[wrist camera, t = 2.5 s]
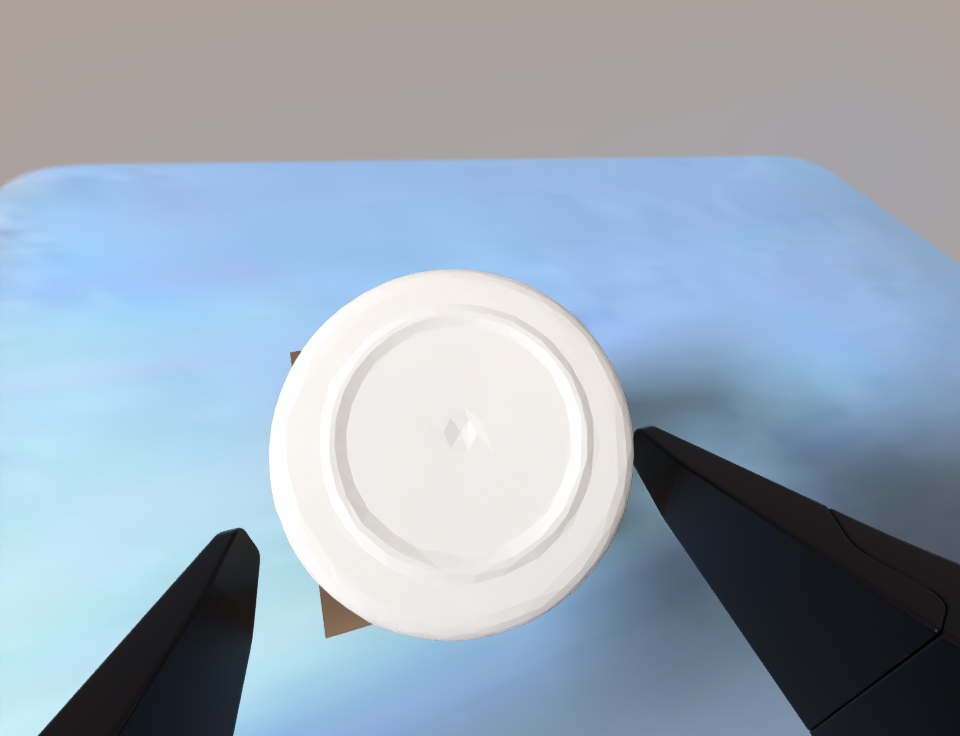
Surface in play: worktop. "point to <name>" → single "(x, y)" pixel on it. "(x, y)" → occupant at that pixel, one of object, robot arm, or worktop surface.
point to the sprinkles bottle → (451, 454)
